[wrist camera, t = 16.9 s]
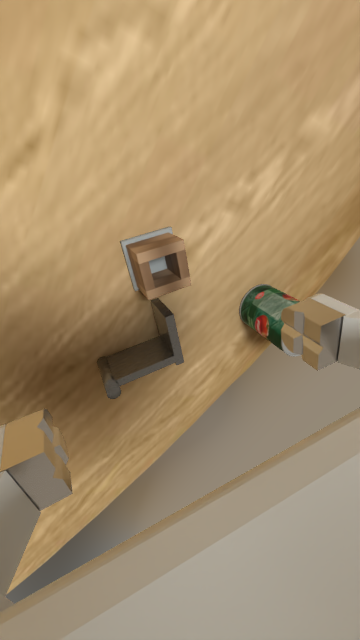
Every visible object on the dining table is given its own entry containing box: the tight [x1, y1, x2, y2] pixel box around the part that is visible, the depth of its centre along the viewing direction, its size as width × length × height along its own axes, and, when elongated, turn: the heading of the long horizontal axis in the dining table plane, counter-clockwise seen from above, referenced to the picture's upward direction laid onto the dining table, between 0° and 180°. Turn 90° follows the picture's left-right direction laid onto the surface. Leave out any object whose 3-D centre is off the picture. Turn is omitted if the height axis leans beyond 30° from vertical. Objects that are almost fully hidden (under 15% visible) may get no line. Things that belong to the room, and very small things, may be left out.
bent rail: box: [97, 298, 184, 399], centre depth 41 cm, size 12×8×8 cm
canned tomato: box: [239, 284, 301, 356], centre depth 48 cm, size 8×8×11 cm
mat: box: [120, 227, 173, 291], centre depth 40 cm, size 7×7×1 cm
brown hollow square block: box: [126, 232, 191, 300], centre depth 38 cm, size 6×6×5 cm
